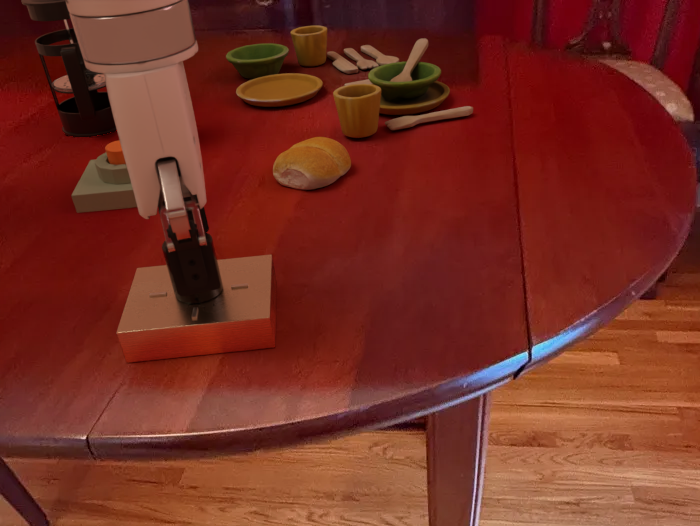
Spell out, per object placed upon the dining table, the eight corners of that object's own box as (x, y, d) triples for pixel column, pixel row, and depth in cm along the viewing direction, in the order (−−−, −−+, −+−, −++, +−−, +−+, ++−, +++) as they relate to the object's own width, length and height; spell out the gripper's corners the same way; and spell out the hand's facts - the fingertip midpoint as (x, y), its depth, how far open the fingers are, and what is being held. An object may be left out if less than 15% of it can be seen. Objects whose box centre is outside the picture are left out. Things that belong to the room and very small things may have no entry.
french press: (65, 118, 106) (6, -62, 92) (131, 109, 107) (82, -71, 93) (59, 147, 97) (-7, -48, 83) (130, 136, 98) (77, -58, 84)
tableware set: (483, 118, 95) (485, 68, 91) (279, 160, 88) (272, 108, 84) (373, 45, 126) (370, 5, 122) (215, 72, 119) (208, 31, 115)
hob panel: (126, 363, 58) (115, 331, 56) (145, 296, 66) (136, 266, 64) (275, 347, 58) (269, 315, 56) (276, 282, 66) (271, 252, 64)
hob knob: (221, 301, 59) (209, 248, 56) (172, 305, 59) (157, 254, 56) (224, 275, 62) (213, 224, 59) (177, 280, 62) (164, 229, 59)
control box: (77, 213, 80) (65, 179, 78) (95, 176, 88) (85, 145, 86) (176, 204, 81) (167, 170, 78) (185, 168, 89) (178, 136, 86)
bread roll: (361, 164, 86) (359, 131, 83) (323, 196, 80) (319, 161, 77) (303, 155, 89) (299, 123, 87) (262, 185, 83) (256, 151, 81)
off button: (106, 167, 81) (101, 152, 80) (112, 155, 84) (108, 140, 82) (138, 164, 81) (134, 149, 80) (143, 152, 84) (139, 137, 83)
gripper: (84, 15, 54) (145, 223, 64) (70, 79, 40) (151, 328, 51) (185, 1, 55) (229, 208, 66) (204, 58, 42) (255, 306, 52)
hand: (195, 260), depth 58 cm, fingers open, 9 cm apart
